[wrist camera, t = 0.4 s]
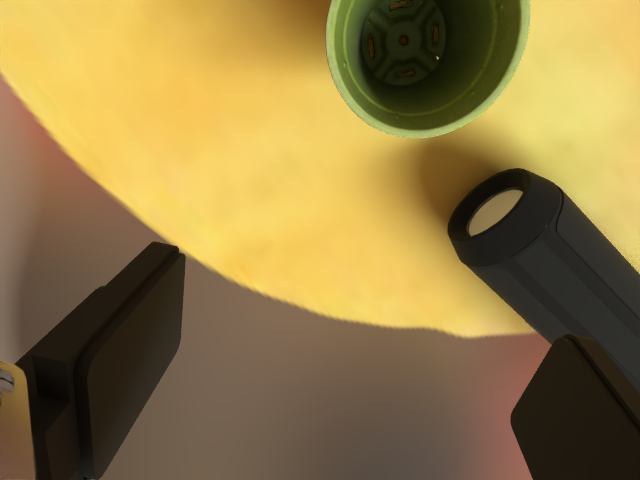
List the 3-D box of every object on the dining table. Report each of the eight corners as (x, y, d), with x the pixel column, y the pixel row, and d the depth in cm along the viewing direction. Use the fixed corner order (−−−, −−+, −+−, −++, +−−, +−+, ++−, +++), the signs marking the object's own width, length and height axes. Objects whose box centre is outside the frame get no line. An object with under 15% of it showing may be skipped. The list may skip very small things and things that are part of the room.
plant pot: (386, 140, 37) (397, 174, 27) (306, 28, 34) (285, 19, 24) (504, 53, 33) (568, 55, 23) (427, -83, 30) (463, -151, 20)
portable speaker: (431, 219, 40) (452, 268, 31) (513, 148, 37) (564, 179, 28) (580, 360, 46) (634, 434, 37) (664, 310, 43) (746, 380, 34)
